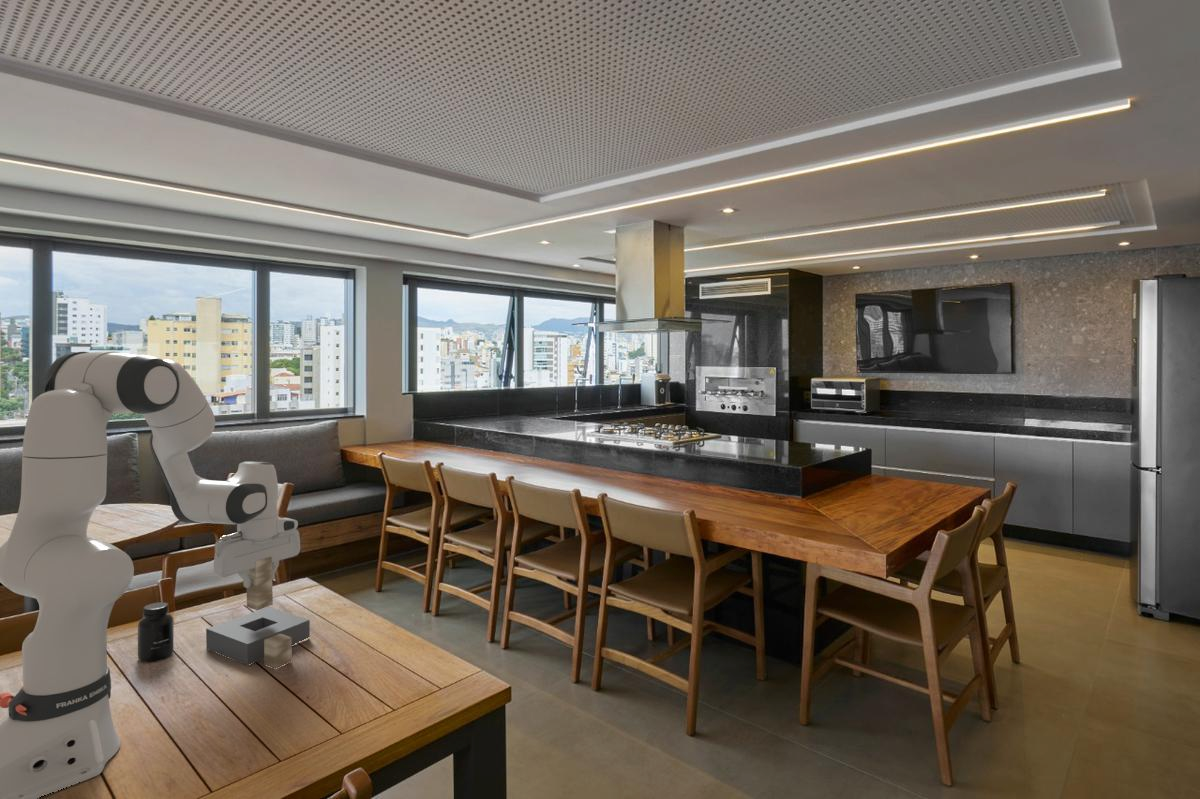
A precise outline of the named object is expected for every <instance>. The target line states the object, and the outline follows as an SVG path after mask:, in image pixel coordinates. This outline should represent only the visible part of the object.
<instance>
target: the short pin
mask: <svg viewBox="0 0 1200 799" xmlns="http://www.w3.org/2000/svg"><path fill="white" fill-rule="evenodd" d="M292 648H293V647H292V637H289V636H286V635H283V634H278V635H275V636H273V637H270V638H268V639H265V640H264V659H263V661H264V665H267V666H270V667H272V668H275V669H276V668H278V667H280V666H282V665H284V664H287V663H289V662H291V661H292V662H293V659H292V658H293V657H292V656H293V655H292V654H293V653H292V651H293V649H292ZM267 666H266V667H267ZM272 668H271V669H272Z"/></svg>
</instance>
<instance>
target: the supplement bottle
mask: <svg viewBox="0 0 1200 799" xmlns="http://www.w3.org/2000/svg"><path fill="white" fill-rule="evenodd" d="M174 623H175V622H174V617H173V615H172V614H170V613H169V603H168V602H165V601H164V602H163V601H161V602H160V601H159V602H153V603H148V604H146V605H145V606H143V609H142V618H141V619H139V621H138V622H137V659H138V661H140V662H141V663H154V662H159V661H162V660H166V659H168V658H169V657H171V656H172V655H173V653H174V639H175V638H174V636H175V635H174V633H175V632H174V629H175V628H174Z"/></svg>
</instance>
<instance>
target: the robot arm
mask: <svg viewBox="0 0 1200 799" xmlns="http://www.w3.org/2000/svg"><path fill="white" fill-rule="evenodd" d="M44 379H45V380H44V385H43V393H41V394H40V395H38V396H37V397H35V398H34V400H33V401H32V403H31V404H30V407H29V411H28V415H27V419H26V423H25V428H24V434H23V441H22V458H21V461H22V463H21V482H20V484H21V486H20V489H21V490H20V499H19V500H20V501H19V507H18V511H17V515H16V518H15V521H14V524H13V526H12V529H11V532H10V534H9V537H8V539H7V540H6V541H5V542H4V543H3V544H2V545H1V546H0V583H1V584H2V585H3V586H4V587H6V589H8V590H9V591H11V592H13V593H15V594H18V595H20V596H24V597H29V598H31V599H32V598H33V599H35V600H36V601H37V603H38V606H39V611H38V615H37V619H36V623H35V626H34V628H33V631H31V632H30V633H29V634H28V635H27V636H26V637H25V639H24V640H23V641H22V646H21V656H22V657H21V658H22V659H21V660H22V664H21V665H22V686H21V688H20V689H19V691H18V692H17V693H16V694H15V696H14V695H12V694H11V693H10V692H2V693H0V708H1V709H7V710H8V715H7V716H6V717H5V718H3V720H2V721H0V799H37V798H38V799H40V798H39V797H41V796H43V795H46V796H48V795H47V794H49V793H51V794H53V793H52V792H54V793H56V792H59V791H61V789H62V790H64V789H66V787H67V788H70V787H72V786H74V785H77V784H79V782H80V783H81V782H85V781H87V780H90V779H93V778H94V777H97V776H99V775H100V774H102V773H103V771H104V769H105V765H106V764H107V763H108V762H109V760H111V758H113V756H115V755H116V754H117V753H118V751H119V750H120V747H121V740H120V738H119V736H118V733H117V731H116V728H115V725H114V721H113V716H112V712H111V704H110V699H111V693H112V679H111V671H110V668H109V667H108V661H107V660H108V659H107V658H108V656H107V655H108V654H107V653H108V651H107V649H108V648H107V646H108V644H107V643H108V641H107V640H108V639H107V636H108V635H107V634H108V633H107V632H108V624H109V621H110V620H109V619H110V616H111V613H112V610H113V608H114V605H115V602H116V601H117V600H119V598H121V597H122V596H123V595H124V594H125V593H126V592H127V591H128V589H129V588H130V585H131V583H132V581H133V579H134V574H135V573H134V572H135V568H134V562H133V560H132V558H131V557H130V555H129V554H127V553H126V551H123V550H122V549H121V548H118V547H117V546H116V545H113V544H112V543H110V542H108V541H104V540H100V539H94V538H88V534H87V533H88V532H87V531H88V527H89V523H90V520H91V518H92V515H93V513H94V511H95V510H96V508H97V507H98V506H100V505H101V504H102V503H103V502H104V500H105V498H106V496H107V481H108V480H107V476H108V474H107V473H108V435H107V434H108V433H107V425H108V423H109V421H110V418H111V417H112V416H113V415H114V414H122V415H123V414H125V415H126V414H138V415H139V414H140V415H142V416H143V418H144V420H145V421H146V423H147V425H148V426H149V428H150V430H151V435H150V438H149V447H150V451H151V454H152V456H153V460H154V462H155V464H156V466H157V469H158V470H159V473H160V476H161V479H162V480H163V482H164V485H165V488H166V489H167V492H168V495H169V503H170V508H171V510H172V513H173V515H174V516H175V518H176V519H177V520H179V521H180V522H182V523H185V524H202V523H205V524H219V525H220V524H221V525H236V530H237V532H234V533H231V534H227V535H226V534H225V535H222V536H220V538H218V539H217V540H216V542H215V543H214V557H213V558H214V559H213V573H214V574H216V575H217V576H220V577H222V578H226V577H229V576H233V575H236V574H238V576H239V577H240V578H241V579H242V581H243V587H244V588H246V589H247V588H249V587H252V586H254V584H253V583H254V579H251V578H249V577H248V576H247V574H249V570H250V569H253V568H255V567H256V561H258V560H261V559H265V558H268V557H272V581H273V580H275V579H276V578H275V577H276V575H275V574H276V572H277V570H278V567H279V566H280V561H283V560H286V559H289V558H293V557H296V556H298V555H299V553H300V551H301V538H300V532H299V530H298V529H297V528H298V526H299V522H298V520H296V519H294V518H293V519H292V518H289V517H284V516H279V510H278V507H277V505H278V504H277V502H278V497H279V486H278V484H279V482H278V475H277V471H276V467H275V466H274V464H273V463H271V462H267V461H252V460H251V461H242V462H240V463H239V464H238V468H237V471H236V473H235V474H234V475H233V476H231V477H230V478H227V479H226V480H215V479H213V480H212V479H207V478H205V477H204V478H203V477H201V476H199V475H198V474H196V472H195V469H194V466H193V465H192V463H191V459H190V457H189V454H188V453H189V452H191V451H194V450H195V449H197V448H199V447H200V446H202V445H203V444H204V443H205V442H206V441H207V440H208V439H209V438H210V437H211V436H212V434H213V432H214V431H215V427H216V419H215V414H214V411H213V410H212V407H211V406H210V403H209V401H208V400H207V398H206V396H205V395H204V393H203V392H202V390H201V388H200V387H199V385H198V383H197V382H196V381H195V379H194V378H193V377H192V376H191V375H190V374H189V372H188V371H187V370H186V368H184V366H182V365H181V364H180V363H179V362H177V361H175V360H171V359H161V358H159V357H157V356H153V355H148V354H133V353H125V352H124V353H123V352H120V351H94V352H93V351H91V352H90V351H78V352H72V353H68V354H64V355H62V356H60V357H58V358H57V359H55V360H54V361H53V362H52V364H51V365H50V367H49V368H48V370H47V373H46V375H45V378H44ZM71 785H72V786H71ZM63 788H64V789H63ZM58 790H59V791H58ZM49 795H50V794H49ZM41 798H42V797H41Z"/></svg>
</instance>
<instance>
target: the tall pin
mask: <svg viewBox="0 0 1200 799" xmlns="http://www.w3.org/2000/svg"><path fill="white" fill-rule="evenodd" d="M247 576H248V577H249V578H251V579H254V583H253V584H254V586H252V587H249V588H246V607H247V608H249V609H251V610H255V611H258V610H261V609H264V608H267V607H271V606H272V605H273V606H274V603H273V602H274V600H273V598H274V597H273V592H274V591H273V580H272V557H268V558H265V559H261V560H258V561H256V567H255V568H253V569H250V570H249V574H247Z"/></svg>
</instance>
